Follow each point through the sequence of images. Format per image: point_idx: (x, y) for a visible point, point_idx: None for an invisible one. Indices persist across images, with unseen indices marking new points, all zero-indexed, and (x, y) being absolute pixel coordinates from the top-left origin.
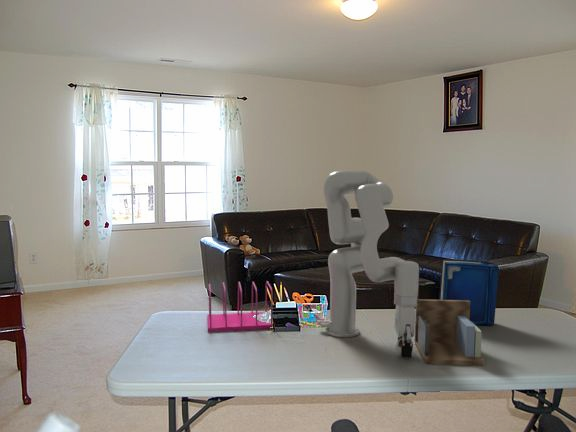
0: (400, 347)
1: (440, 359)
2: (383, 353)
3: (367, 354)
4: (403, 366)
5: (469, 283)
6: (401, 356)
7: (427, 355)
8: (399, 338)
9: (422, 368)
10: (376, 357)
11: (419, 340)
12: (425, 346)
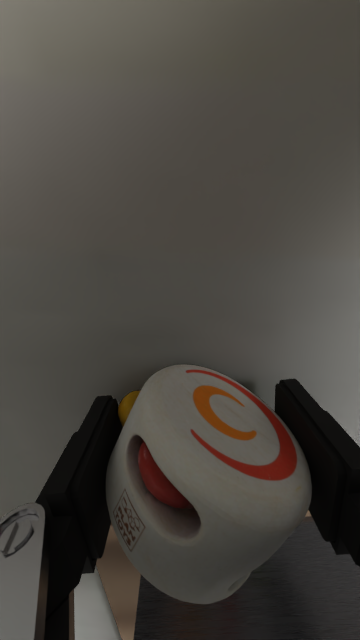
0: (124, 442)
1: (105, 584)
2: (231, 252)
3: (183, 73)
4: (4, 386)
5: None
6: (96, 398)
7: None
8: (247, 509)
9: (19, 478)
10: (121, 181)
11: (351, 571)
12: (135, 630)
